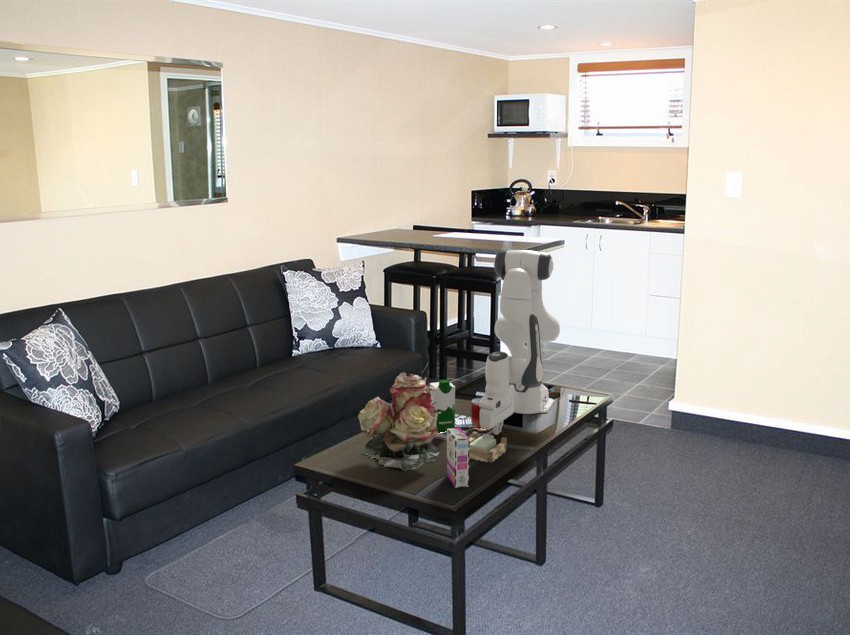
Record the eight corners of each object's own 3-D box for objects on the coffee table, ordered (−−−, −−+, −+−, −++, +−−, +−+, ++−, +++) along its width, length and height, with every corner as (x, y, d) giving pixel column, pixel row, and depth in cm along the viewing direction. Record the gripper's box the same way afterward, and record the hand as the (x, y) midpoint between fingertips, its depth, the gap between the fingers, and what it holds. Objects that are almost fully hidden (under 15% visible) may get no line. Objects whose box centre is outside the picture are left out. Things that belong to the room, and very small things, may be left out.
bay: (474, 444, 294) (474, 431, 293) (506, 451, 287) (506, 438, 286) (457, 455, 284) (457, 442, 283) (491, 463, 277) (491, 449, 276)
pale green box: (479, 448, 291) (479, 432, 290) (497, 451, 287) (497, 436, 286) (467, 456, 284) (467, 440, 282) (485, 460, 280) (485, 444, 279)
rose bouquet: (349, 456, 285) (346, 374, 278) (415, 437, 302) (414, 359, 296) (393, 479, 265) (391, 391, 259) (460, 457, 283) (460, 374, 276)
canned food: (491, 432, 306) (491, 404, 304) (469, 431, 308) (469, 403, 305) (493, 425, 313) (493, 398, 311) (472, 424, 315) (472, 397, 312)
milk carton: (435, 435, 304) (435, 384, 299) (428, 427, 312) (427, 377, 308) (457, 432, 306) (457, 381, 302) (449, 424, 315) (449, 375, 310)
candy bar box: (470, 487, 258) (470, 438, 255) (455, 489, 257) (454, 440, 254) (460, 473, 269) (460, 426, 266) (446, 475, 268) (445, 427, 264)
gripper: (503, 387, 303) (502, 422, 306) (476, 403, 286) (476, 440, 289) (518, 390, 300) (517, 425, 303) (492, 407, 283) (492, 444, 286)
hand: (497, 433), depth 296 cm, fingers closed
